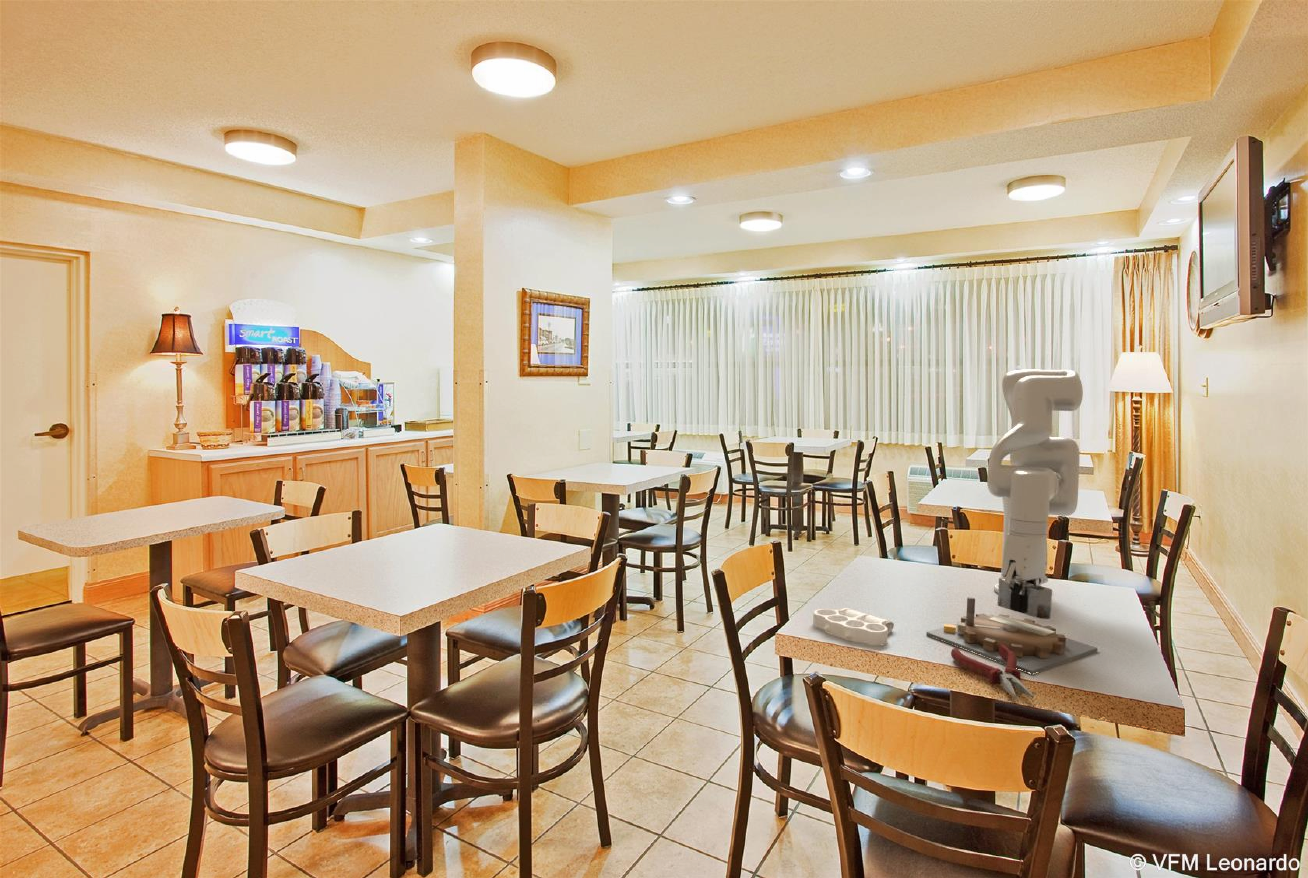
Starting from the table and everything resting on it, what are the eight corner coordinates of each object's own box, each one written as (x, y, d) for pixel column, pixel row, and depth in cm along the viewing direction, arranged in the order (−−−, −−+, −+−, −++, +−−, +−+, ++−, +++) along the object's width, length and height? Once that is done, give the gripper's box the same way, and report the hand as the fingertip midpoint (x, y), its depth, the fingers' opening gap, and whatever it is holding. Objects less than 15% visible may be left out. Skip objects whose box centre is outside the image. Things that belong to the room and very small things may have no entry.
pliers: (991, 706, 121) (991, 691, 121) (948, 658, 141) (948, 645, 141) (1058, 702, 121) (1058, 688, 120) (1006, 655, 141) (1005, 642, 140)
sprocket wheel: (954, 617, 163) (956, 584, 162) (1054, 629, 156) (1056, 594, 155) (961, 649, 144) (962, 611, 143) (1075, 664, 137) (1078, 624, 136)
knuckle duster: (906, 636, 154) (870, 652, 145) (837, 615, 168) (800, 629, 159) (907, 621, 154) (870, 637, 145) (838, 602, 168) (801, 614, 158)
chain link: (1003, 602, 157) (1004, 576, 157) (1053, 617, 148) (1055, 589, 147) (994, 604, 156) (995, 578, 155) (1044, 619, 146) (1046, 591, 145)
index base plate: (991, 617, 166) (991, 609, 166) (1097, 651, 146) (1097, 642, 146) (926, 635, 154) (926, 626, 154) (1032, 675, 134) (1032, 665, 133)
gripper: (1032, 521, 158) (1028, 599, 159) (988, 527, 149) (984, 610, 150) (1066, 527, 151) (1061, 609, 153) (1022, 534, 143) (1017, 621, 144)
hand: (1023, 609), depth 152 cm, fingers closed on chain link, 3 cm apart
